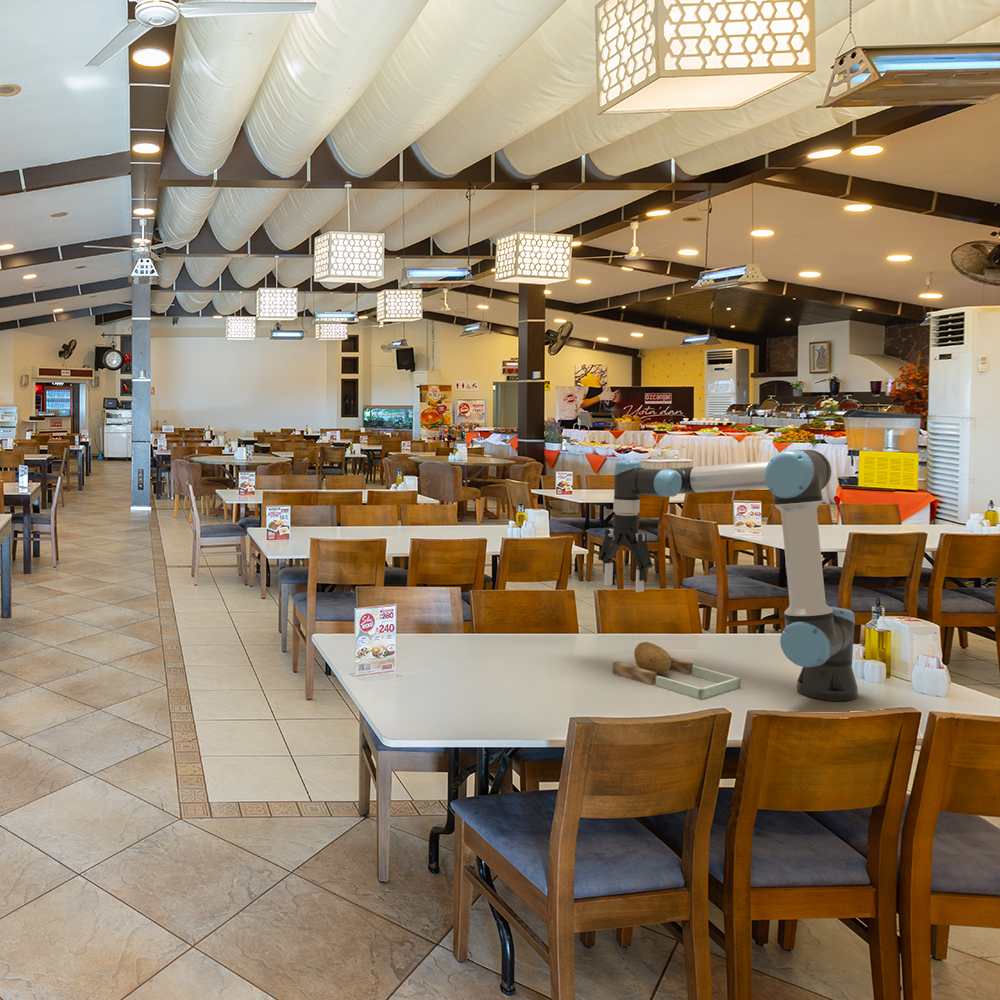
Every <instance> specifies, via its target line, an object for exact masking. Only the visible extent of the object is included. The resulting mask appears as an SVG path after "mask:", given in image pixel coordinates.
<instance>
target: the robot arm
mask: <svg viewBox="0 0 1000 1000" xmlns="http://www.w3.org/2000/svg"><path fill="white" fill-rule="evenodd" d="M613 476H614V478H613V479H614V482H613V483H614V485H613V487H614V488H613V489H614V490H613V491H614V492H613V493H614V494H613V510H612V511H613V513H614V514H613V515H612V527H614V528H609V529H608V528H607V529H606V528H605V532H604V539H603V542H602V544H601V548H600V550H599V553H598V557H597V559H598V560H599V561H601V562H602V563H603V567H602V568H603V571H602V573H603V574H604V577H603V578H604V581H603V583H604V586H606V587H607V586H612V585H613V578H614V577H613V576H614V575H613V574H614V563H613V559H614V558H615V555H616V553H617V552H618V550H619V549H620V548H621V546H623V547H627V548H628V549H629V550H630V552H631V554H632V557H633V559H634V561H635V563H636V565H637V568H636V570H635V593H642V592H644V591H645V581H647V570H648V569H651V568H653V561H652V558H651V555H650V550H649V546H648V543H647V539H648V538H647V534H646V533H639V532H638V528H639V527H640V515H639V513H640V507H641V506H640V505H641V503H640V502H641V495H642V496H643V495H644V496H645V495H646V496H656V497H662V498H665V497H667V498H668V497H670V498H673V497H676V496H677V495H680V494H681V495H683V494H695V493H696V494H697V493H712V492H733V491H749V490H765V489H766V490H767V489H768V490H769V491H770V493H772V498H773V506H774V507H776V509H777V510H778V511H779V512H780V516H781V524H782V525H781V526H782V536H783V548H784V557H785V568H786V577H787V578H786V579H787V588H788V590H787V591H788V600H789V601H788V602H789V606H788V607H787V608H786V609H785V611H784V625H785V627H784V628H783V630H782V632H781V634H780V639H779V643H780V648H781V650H782V652H783V654H784V656H785V657H786V658H787V659H788V660H789V661H790V662H792V663H793V664H794V665H796V666H798V667H802V669H801V670H800V674H799V676H798V678H797V680H796V681H797V682H796V691H797V692H798V693H800V694H801V695H803V696H806V697H809V698H813V699H816V700H821V701H828V702H830V701H831V702H848V701H853V700H856V699H857V698H858V695H859V687H858V684H857V681H856V677H855V673H854V670H853V654H854V653H853V652H854V651H853V650H854V637H855V636H854V635H855V625H856V622H855V613H854V612H853V610H850V609H847V608H842V607H835V606H829V605H828V604H827V603H826V594H825V581H824V574H823V573H824V572H823V560H822V549H821V542H820V541H821V539H820V531H819V521H818V520H819V519H818V511H817V510H818V507H819V506H820V505H821V504H822V503H823V494H822V491H823V490H824V489H825V488H826V487H827V486H828V484H829V482H830V481H831V479H832V467H831V464H830V461H829V460H828V457H826V456H825V455H824V454H822V453H821V452H819V451H817V450H814V449H789V450H784V451H781V452H779V453H777V454H776V455H774V456H773V457H772V458H771V459H770V460H762V461H761V460H760V461H750V462H737V463H736V462H735V463H726V464H715V465H714V464H713V465H701V466H700V465H699V466H689V467H686V466H685V467H683V466H682V467H676V468H644V467H642V462H641V461H639V460H630V459H629V460H628V459H627V460H622V459H621V460H618V461H617V462H616V463H615V468H614V475H613Z"/></svg>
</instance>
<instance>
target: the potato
mask: <svg viewBox="0 0 1000 1000" xmlns="http://www.w3.org/2000/svg"><path fill="white" fill-rule="evenodd" d="M633 653H634V659H635V664H636V667H639V668H642V669H646V670H649V671H653V672H656V673H657V676H661V675H662V674H664V673H667V672H668V671H670V669H669V668H670V667H671V662H672V660H671V657H672V656H671V655H670V654H669V652H668V651H667V650H666V649H664V648H663V647H661V646H659V645H656V644H654V643H652V642H648V641H642V642H640V643H638V644H637V645H636V646H635V649H634V651H633Z"/></svg>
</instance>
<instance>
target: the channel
mask: <svg viewBox="0 0 1000 1000" xmlns="http://www.w3.org/2000/svg"><path fill="white" fill-rule="evenodd" d="M670 657H671V660H672V662H671V667H670V668H669V671H670V670H671V671H673V672H677V673H681V674H684V675H689V676H690V675H692V668H693V666H694V663H693V662H690V661H686V660H683V659H679V658H677V657H676V658H674V657H672V656H670ZM612 673H613V674H615V675H619V676H621V677H625V678H628V679H631V680H633V681H638V682H641V683H644V684H647V685H651V686H652V685H656V676H658V674H657V673H656V672H653V671H649V670H646V669H642V668H639V667H638V666H635V665H631V664H628V663H625V662H622V661H615V662H613V663H612Z"/></svg>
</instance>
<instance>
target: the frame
mask: <svg viewBox="0 0 1000 1000" xmlns="http://www.w3.org/2000/svg"><path fill="white" fill-rule="evenodd" d="M691 675H692V676H694V677H697V678H701V679H704V680H708V681H712V682H716V683H714V684H710V685H707V686H704V687H698V686H694V685H691V684H688V683H685V682H681V681H678V680H674V679H671V678H668V677H664V676H661V675H657V676H656V684H655V686H656V687H660V688H662V689H663V688H664V689H667V690H669V691H672V692H676V693H679V694H683V695H686V696H689V697H692V698H696V699H699V700H705V699H707V698H711V697H714V696H716V695H717V696H718V695H720V694H723V693H727V692H729V691H733V690H736V689H739V687H740V688H741V677H738V676H733V675H730V674H726V673H723V672H719V671H716V670H712V669H707V668H704V667H701V666H700V667H699V666H697V665H693V668H692V674H691Z"/></svg>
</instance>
